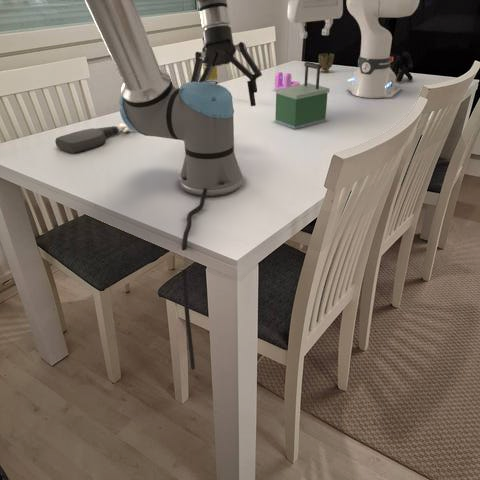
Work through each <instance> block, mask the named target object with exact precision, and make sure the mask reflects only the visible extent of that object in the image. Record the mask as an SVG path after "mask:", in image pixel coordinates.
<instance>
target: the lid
mask: <svg viewBox="0 0 480 480" xmlns="http://www.w3.org/2000/svg"><path fill="white" fill-rule="evenodd" d="M303 65H304V67H305V68H304V83H302V84H300V85H297V86H292V87H287V88H282V89H277V90H275V95H276V94H280V95H283V96H286V97H289V98H293V99H296V100H297V99H301V98H306V97H310V96H315V95H319V94H324V93H328V94H329V93H330V88H329V87H326V86H322V85H320V77H321V76H320V74H321V70H322V68H321V67H322V66H321V65H320V64H319V63H315V62H310V61H304V64H303ZM309 68H311V69H313V70H314V69H315V70H316V81H315V84H314V83H310V82H308V80H309V79H308V78H309Z"/></svg>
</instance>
